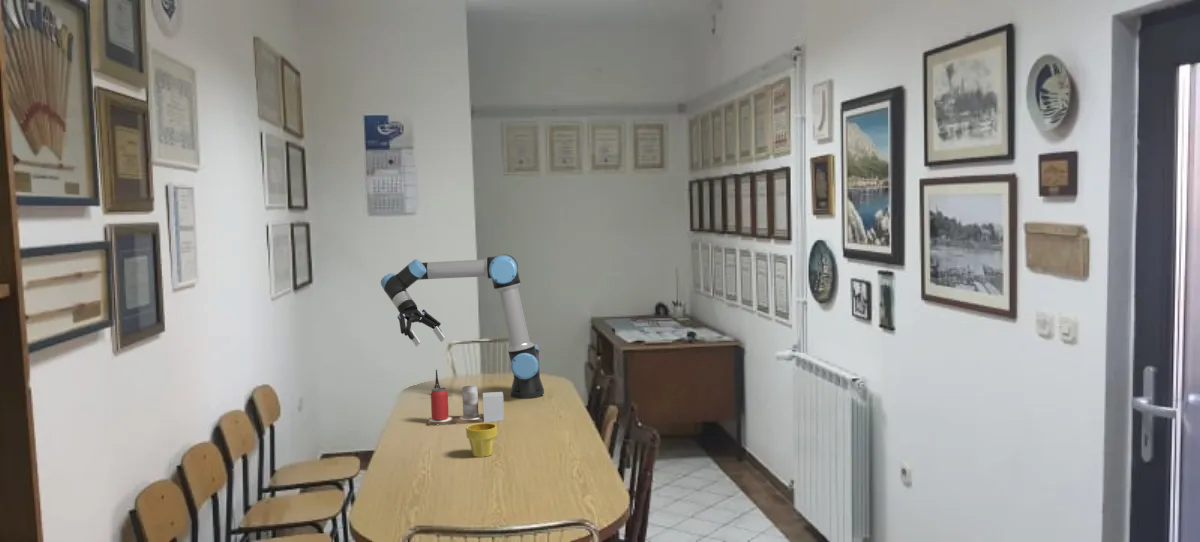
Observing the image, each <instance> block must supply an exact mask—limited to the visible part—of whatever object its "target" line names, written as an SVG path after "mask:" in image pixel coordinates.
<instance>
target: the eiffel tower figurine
mask: <svg viewBox="0 0 1200 542" xmlns="http://www.w3.org/2000/svg"><path fill="white" fill-rule="evenodd" d="M434 382H435V384H434V387H433V389H434V388H441V386H440V382H439V377H438V370H437V368H436V369H435V381H434ZM430 395H431V393H430V394H429V396H430Z"/></svg>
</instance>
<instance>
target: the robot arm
mask: <svg viewBox="0 0 1200 542" xmlns="http://www.w3.org/2000/svg"><path fill="white" fill-rule="evenodd" d="M518 270H519V265H518V262H517V260H516V259H515V257H513V256H512V255H509V254H499V255H496V256H495V255H494V256H487V257H485V258H484V259H471V260H470V259H469V260H468V259H467V260H449V261H448V260H447V261H428V262H427V261H426V262H421V261H420V260H419V259H413V260H412V261H411V262H409V263H408V264H407V265H406V266H404V268H402V270H400V271H399V272H398V273H396V274H395V273H391V272H390V273H388V274H386V275H384V276H383V277H382V278H381V280H380V286H381V287H382V289H383V291H384V292H385V294H386V295H387V296H388V298H389V299H390V300H391V302H392V304H393V305H394V306H395V308H396V309H397V311H398V312H399V314H398V315H397V319H398V321H399V327H400V333H401V334H402V335H403V334H404V336H406V337H407V336H408V338H409V340H411V341H412V343H413V344H414V346H415V347H418V346H419V345H420V343H421V341H420V339H419V337H418V336H417V335H416V333H415V332H414V330H411V329H412V323H419V324H423V325H424V326H426V327H429V328H431V329H433V330H432V332H433V333H434V335H435V336H436V338H438V340H439V341H440V342H441V343H442V342H443V341H444V340H445V338H446V337H445V335H444V334H443V332H442V330H441V329H440V326H441V322H439V321H438V320H437V319H436V318H434V316H432V315H431V314H429V313H428V312H427V311H426V309H422V310H418V306H417V304H416V302H415V301H414V300H413V298H412V297H411V295H410V293H409V292H408V291H407V289H408V288H410V286H412V285H413V284H415V282H417V281H420V280H436V279H437V280H438V279H459V278H460V279H461V278H479V277H480V278H481V277H485V278H486V279H488V280H489V279H491V281H492V285H493V290H495V291H496V292H498V296H499V301H500V304H501V309H502V314H503V318H504V322H505V326H506V331H507V336H508V339H509V344H510V347H509V348H508V350H507V353H508V355H509V361H510V370H511V372H512V373H513V380H512V384H511V388H510V397H511V398H515V399H533V397H535V398H539V397H538V396H540V397H542V396H541V395H543V394H544V395H545V389H544V386H543V383H542V380H541V378H540V377H541V376H540V353H539V352H540V349H539V348H540V347H539V345H538V344H536V343H535V344H534V343H533V342H531V339H530V335H529V332H528V326H527V323H526V318H525V313H524V309H523V305H522V299H521V295H520V291H519V287H520V285H521V279H520V274H519V271H518ZM544 395H543V396H544Z"/></svg>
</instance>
